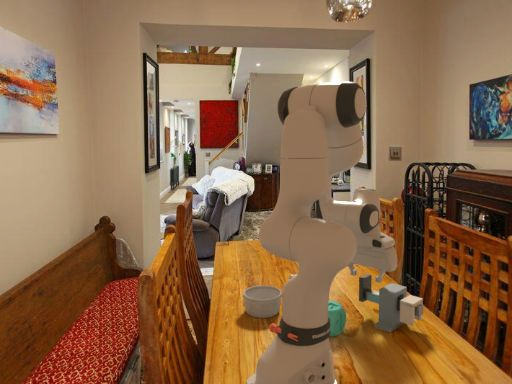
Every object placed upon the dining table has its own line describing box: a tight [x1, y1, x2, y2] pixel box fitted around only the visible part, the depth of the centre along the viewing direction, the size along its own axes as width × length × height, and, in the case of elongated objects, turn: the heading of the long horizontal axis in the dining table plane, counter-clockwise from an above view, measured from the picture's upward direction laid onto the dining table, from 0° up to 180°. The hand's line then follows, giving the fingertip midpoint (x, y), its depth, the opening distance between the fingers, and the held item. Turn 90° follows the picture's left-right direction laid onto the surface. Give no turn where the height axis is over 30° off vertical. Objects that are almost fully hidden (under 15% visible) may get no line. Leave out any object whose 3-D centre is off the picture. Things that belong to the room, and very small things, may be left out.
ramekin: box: [242, 284, 282, 319], centre depth 130 cm, size 13×13×7 cm
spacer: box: [400, 294, 424, 327], centre depth 114 cm, size 6×4×7 cm, turn 132°
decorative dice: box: [328, 300, 347, 338], centre depth 115 cm, size 8×8×8 cm
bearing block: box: [374, 282, 408, 333], centre depth 119 cm, size 12×5×12 cm, turn 131°
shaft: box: [358, 273, 424, 317], centre depth 119 cm, size 5×20×8 cm, turn 42°
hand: (365, 278), depth 125 cm, fingers open, 8 cm apart
